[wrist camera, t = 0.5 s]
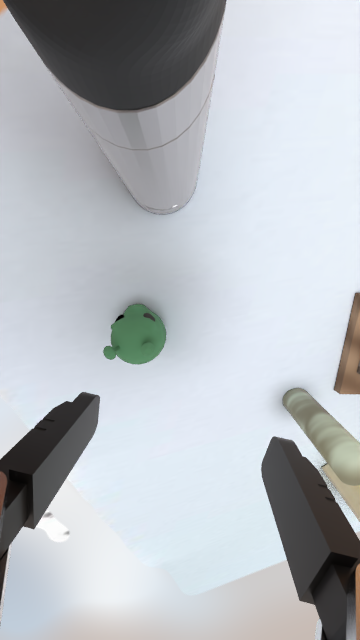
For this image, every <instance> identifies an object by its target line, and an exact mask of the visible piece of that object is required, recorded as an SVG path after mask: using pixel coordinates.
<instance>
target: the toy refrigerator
mask: <svg viewBox="0 0 360 640" xmlns="http://www.w3.org/2000/svg"><path fill="white" fill-rule="evenodd" d="M322 469H323V471H324V472H325V474H326V475H327V477H328V478H329V479H330V481H331V482H332V484H333V485H334V486H335V488H336V489H337V491H338V492H339V493H340V495H341V496H342V498H343V499H344V500H345V502H346V503H347V505H348V506H349V507H350V509H351V510H352V512H353V513H354V514H355V516H356V517H357V519H358V520H359V521H360V485H357V486H351V485H347V484H345V483H343V482H342V481H341V480H340V479H339V478H338V476H337V475H336V474H335V473H334V471H333V470H332V469H331V467H330V466H329V465H328V464H326V465H325V466H323V467H322Z"/></svg>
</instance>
